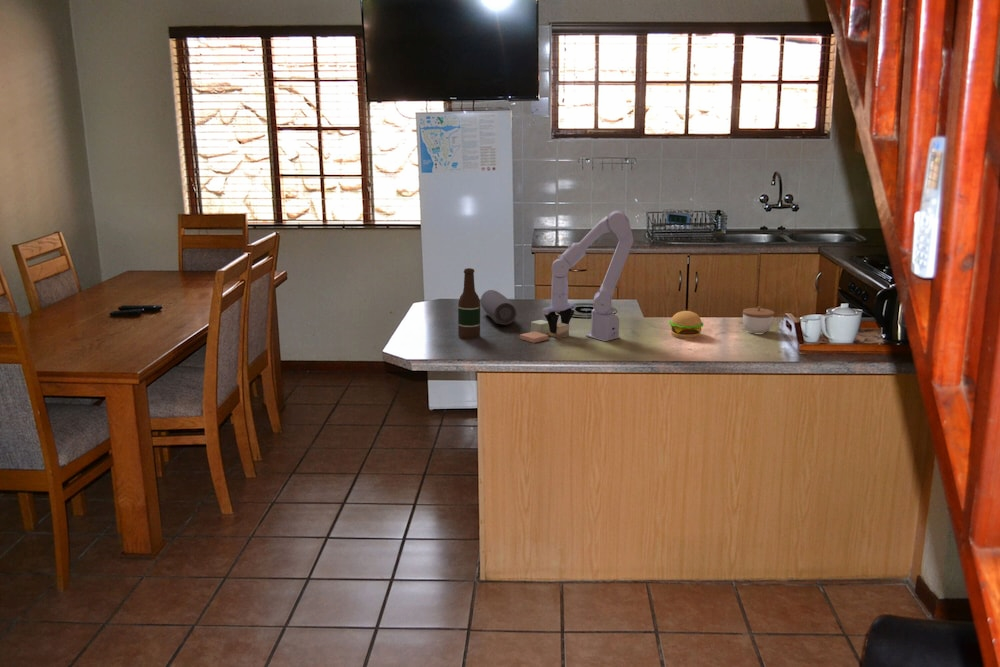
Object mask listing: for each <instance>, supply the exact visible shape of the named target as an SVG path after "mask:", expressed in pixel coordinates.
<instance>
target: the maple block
mask: <svg viewBox="0 0 1000 667" xmlns="http://www.w3.org/2000/svg"><path fill="white" fill-rule="evenodd" d="M548 335H549V336H551V337H554V338H558V339H560V338H564V337H569V335H570V323H569V324H565V323H561V321H557V330H556V333H551V332H550V328H549V333H548Z"/></svg>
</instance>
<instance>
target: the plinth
mask: <svg viewBox="0 0 1000 667" xmlns="http://www.w3.org/2000/svg"><path fill="white" fill-rule="evenodd" d="M549 336H550V335H549V334H543V333H539V332H535V331H534V332H531V331H528V332H525V333H522V334H521V333H520V334H519V339H520V340H523V341H525V342H530V343H533V344H534V343H535V344H536V343H539V342H544V341H548V340H549Z"/></svg>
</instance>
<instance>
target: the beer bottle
mask: <svg viewBox="0 0 1000 667" xmlns="http://www.w3.org/2000/svg"><path fill="white" fill-rule="evenodd" d="M463 273H464V277H463V289H462V293H461V295H460V296H459V299H458V305H457V306H458V307H457V309H458V310H457V314H458V315H457V316H458V317H457V318H458V319H457V320H458V321H457V322H458V323H457V328H458V330H457V332H458V333H457V334H458V338H460V339H462V338H463V339H462V340H475V339H479V337H480V336H481V298H480V297H479V295H478V293H477V292H476V288H475V287H476V286H475V269H474V268H471V267H470V268H464V270H463Z"/></svg>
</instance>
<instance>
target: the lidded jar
mask: <svg viewBox="0 0 1000 667" xmlns="http://www.w3.org/2000/svg"><path fill="white" fill-rule="evenodd" d="M774 316H775V312H774V311H773V310H771V309H767V308H762V307H761V306H757V307H749V308H748V307H747V308H744V309H743V310H742V323H743V326H744V329H746V331H747V332H748V331H749V332H751V333H765V332H766V333H767V332H768V331H769V330H770V329H771V327H772V326H773V321H774ZM749 332H748V333H749ZM751 333H750V334H751ZM766 333H765V334H766Z"/></svg>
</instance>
